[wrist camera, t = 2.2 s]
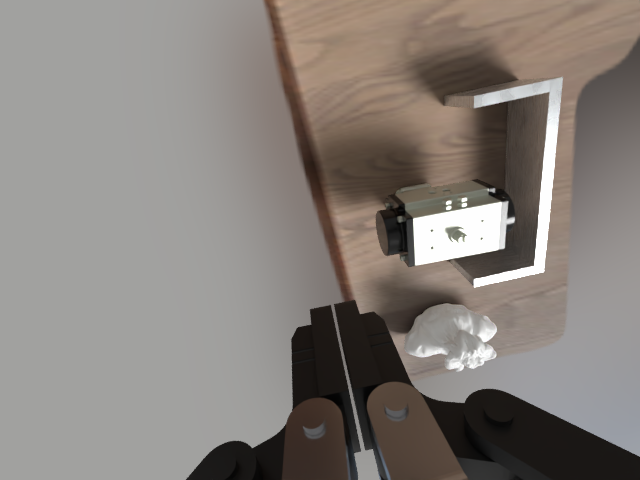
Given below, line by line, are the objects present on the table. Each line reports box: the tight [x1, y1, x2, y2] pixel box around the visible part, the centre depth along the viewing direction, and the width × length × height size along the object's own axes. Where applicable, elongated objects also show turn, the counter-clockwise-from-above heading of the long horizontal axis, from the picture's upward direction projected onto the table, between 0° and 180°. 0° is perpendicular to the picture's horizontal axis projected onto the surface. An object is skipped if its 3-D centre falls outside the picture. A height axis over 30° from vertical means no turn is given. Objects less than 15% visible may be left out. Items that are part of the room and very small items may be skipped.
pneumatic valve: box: [376, 179, 515, 267], centre depth 33 cm, size 6×12×12 cm, turn 99°
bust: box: [404, 303, 497, 372], centre depth 42 cm, size 12×8×11 cm
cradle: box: [444, 77, 563, 287], centre depth 36 cm, size 20×8×6 cm, turn 11°
